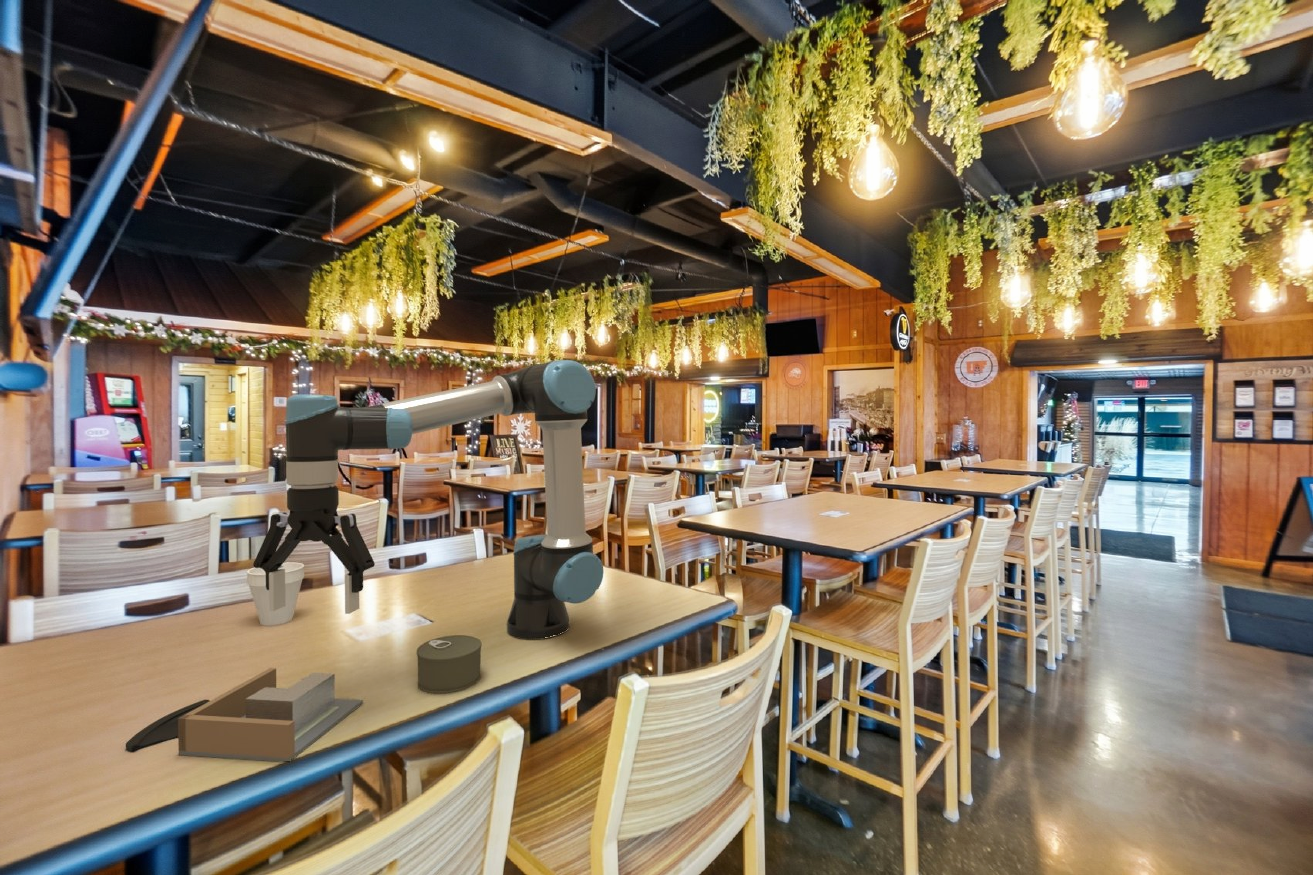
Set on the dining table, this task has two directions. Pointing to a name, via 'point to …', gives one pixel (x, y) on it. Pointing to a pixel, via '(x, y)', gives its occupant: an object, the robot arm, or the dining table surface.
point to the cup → (261, 594)
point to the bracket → (295, 701)
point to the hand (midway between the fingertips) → (314, 610)
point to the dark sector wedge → (160, 729)
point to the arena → (250, 726)
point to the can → (449, 664)
